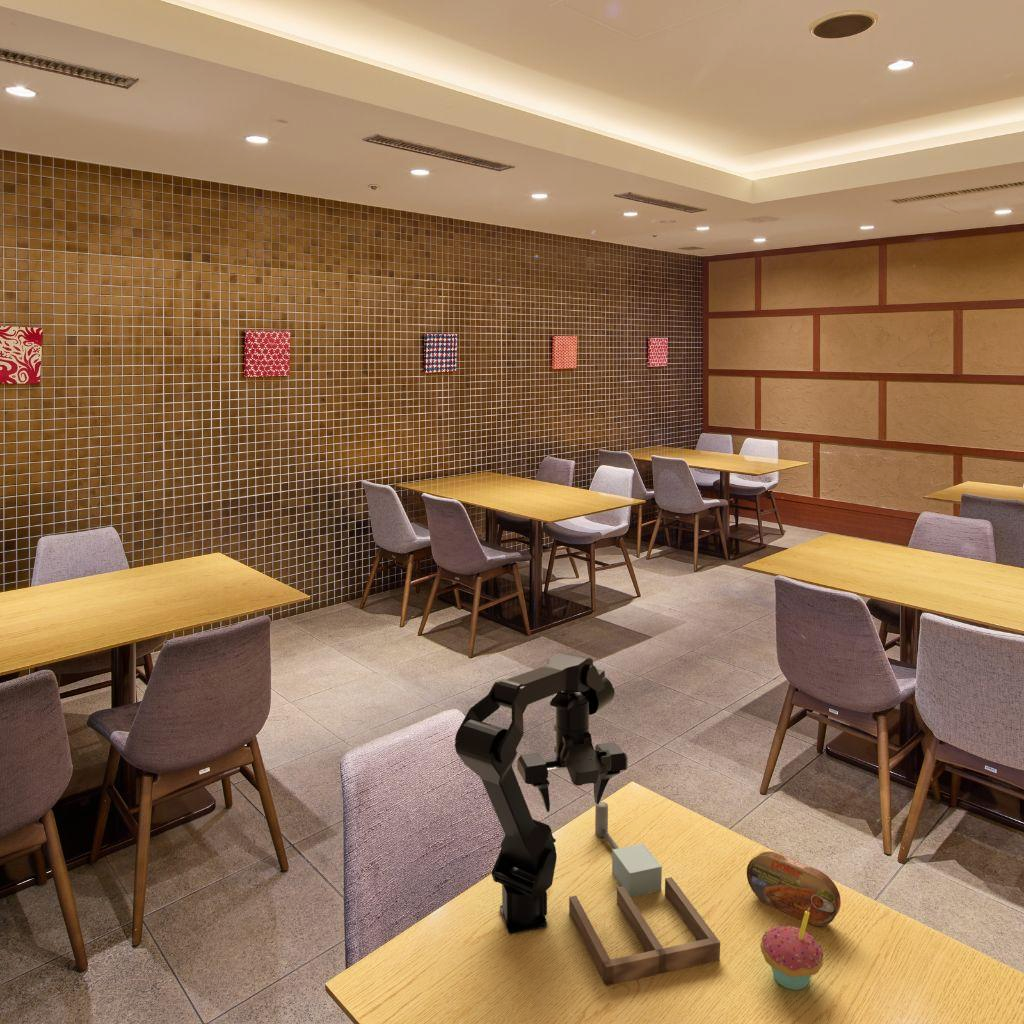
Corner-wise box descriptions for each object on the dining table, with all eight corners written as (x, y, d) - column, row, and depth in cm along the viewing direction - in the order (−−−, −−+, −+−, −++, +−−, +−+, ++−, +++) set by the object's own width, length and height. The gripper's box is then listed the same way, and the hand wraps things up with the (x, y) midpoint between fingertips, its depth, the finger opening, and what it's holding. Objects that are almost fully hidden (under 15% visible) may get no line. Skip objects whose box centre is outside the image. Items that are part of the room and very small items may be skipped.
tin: (744, 893, 131) (746, 848, 130) (753, 885, 133) (755, 840, 132) (833, 936, 121) (837, 888, 119) (841, 926, 123) (844, 878, 122)
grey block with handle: (629, 897, 130) (629, 865, 129) (584, 833, 149) (584, 804, 148) (661, 890, 132) (662, 858, 131) (613, 827, 151) (613, 799, 150)
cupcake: (820, 964, 115) (824, 892, 113) (822, 1008, 107) (827, 930, 105) (759, 951, 118) (763, 880, 116) (758, 992, 110) (761, 917, 108)
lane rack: (605, 985, 111) (605, 967, 111) (569, 913, 127) (569, 896, 126) (719, 959, 116) (720, 942, 116) (671, 893, 131) (671, 877, 131)
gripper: (534, 752, 124) (534, 841, 126) (641, 737, 128) (640, 823, 131) (515, 723, 134) (517, 805, 137) (615, 710, 139) (614, 790, 142)
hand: (572, 806), depth 136 cm, fingers open, 9 cm apart
